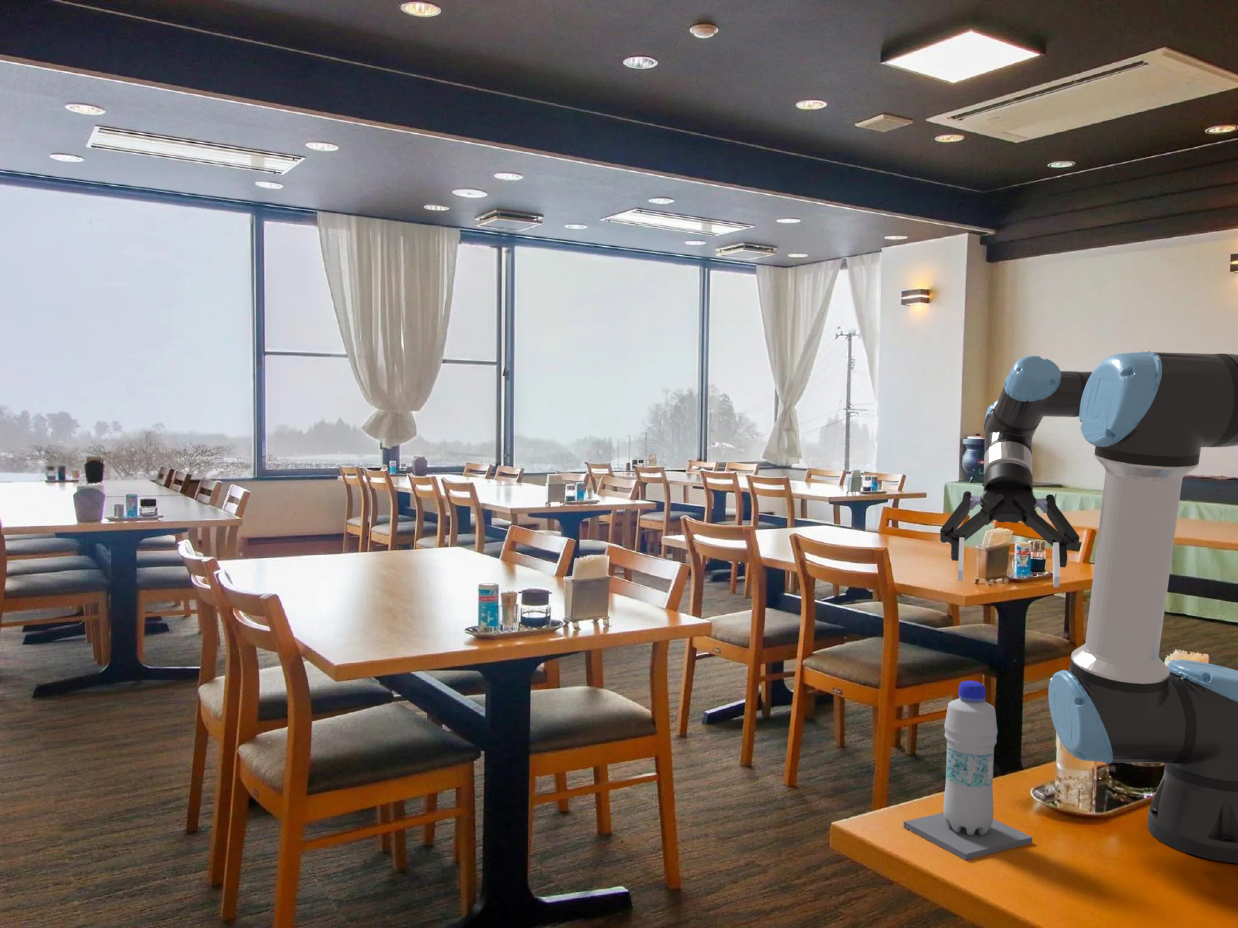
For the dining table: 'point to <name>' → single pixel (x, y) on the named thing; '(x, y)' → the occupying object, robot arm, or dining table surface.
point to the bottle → (970, 760)
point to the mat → (967, 837)
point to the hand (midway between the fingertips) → (1007, 578)
